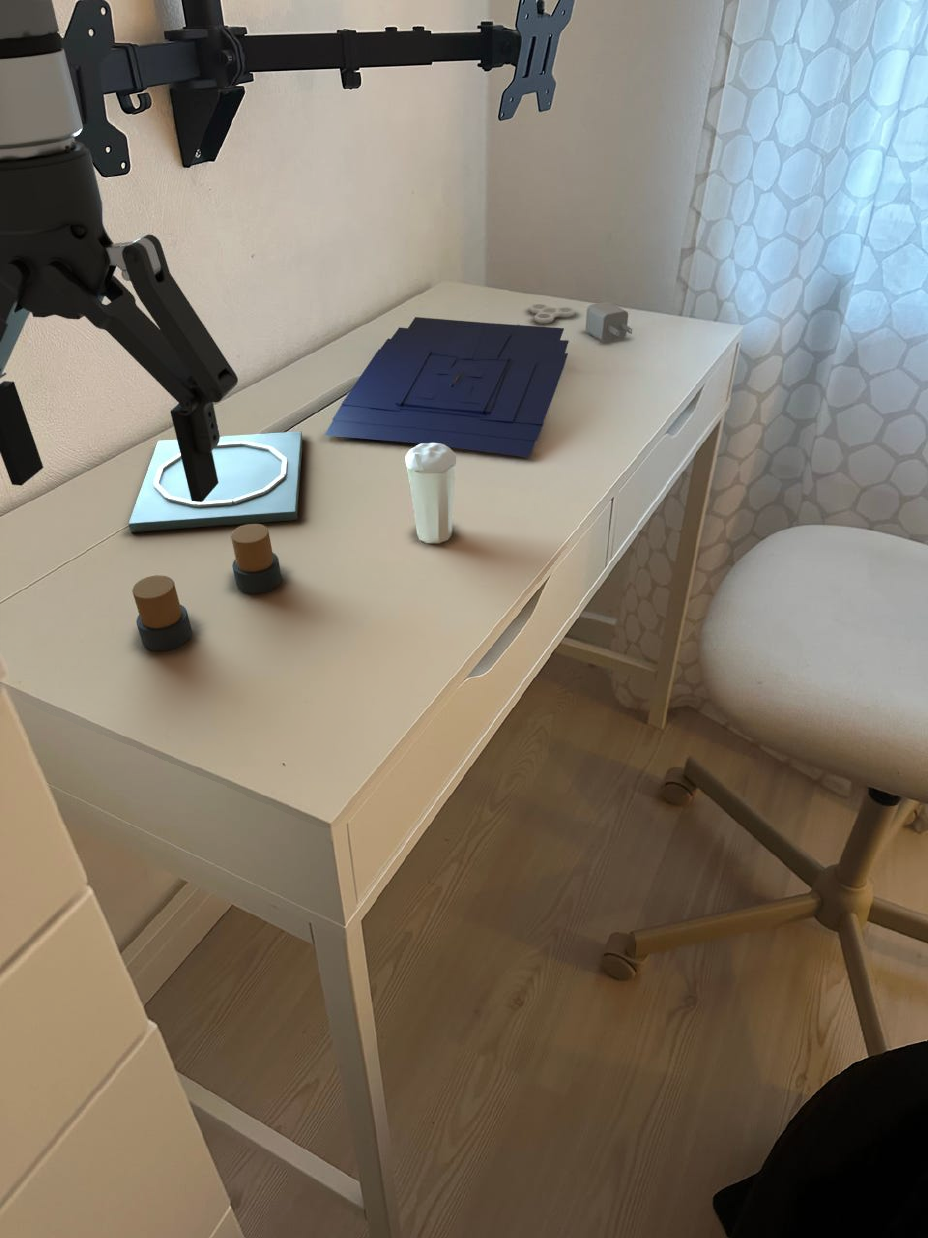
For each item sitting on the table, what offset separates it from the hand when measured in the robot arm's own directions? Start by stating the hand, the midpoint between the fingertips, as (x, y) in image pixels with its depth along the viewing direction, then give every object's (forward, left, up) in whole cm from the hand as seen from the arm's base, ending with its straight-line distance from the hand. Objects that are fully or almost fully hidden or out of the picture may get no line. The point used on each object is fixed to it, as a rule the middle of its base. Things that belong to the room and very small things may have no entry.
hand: (115, 484), depth 62 cm
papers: (+29, +46, -16) cm, 57 cm away
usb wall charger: (+52, +62, -16) cm, 83 cm away
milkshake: (+23, +14, -16) cm, 31 cm away
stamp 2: (+7, +9, -15) cm, 19 cm away
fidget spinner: (+45, +72, -15) cm, 87 cm away
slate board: (+2, +28, -15) cm, 32 cm away
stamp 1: (0, +2, -15) cm, 16 cm away
